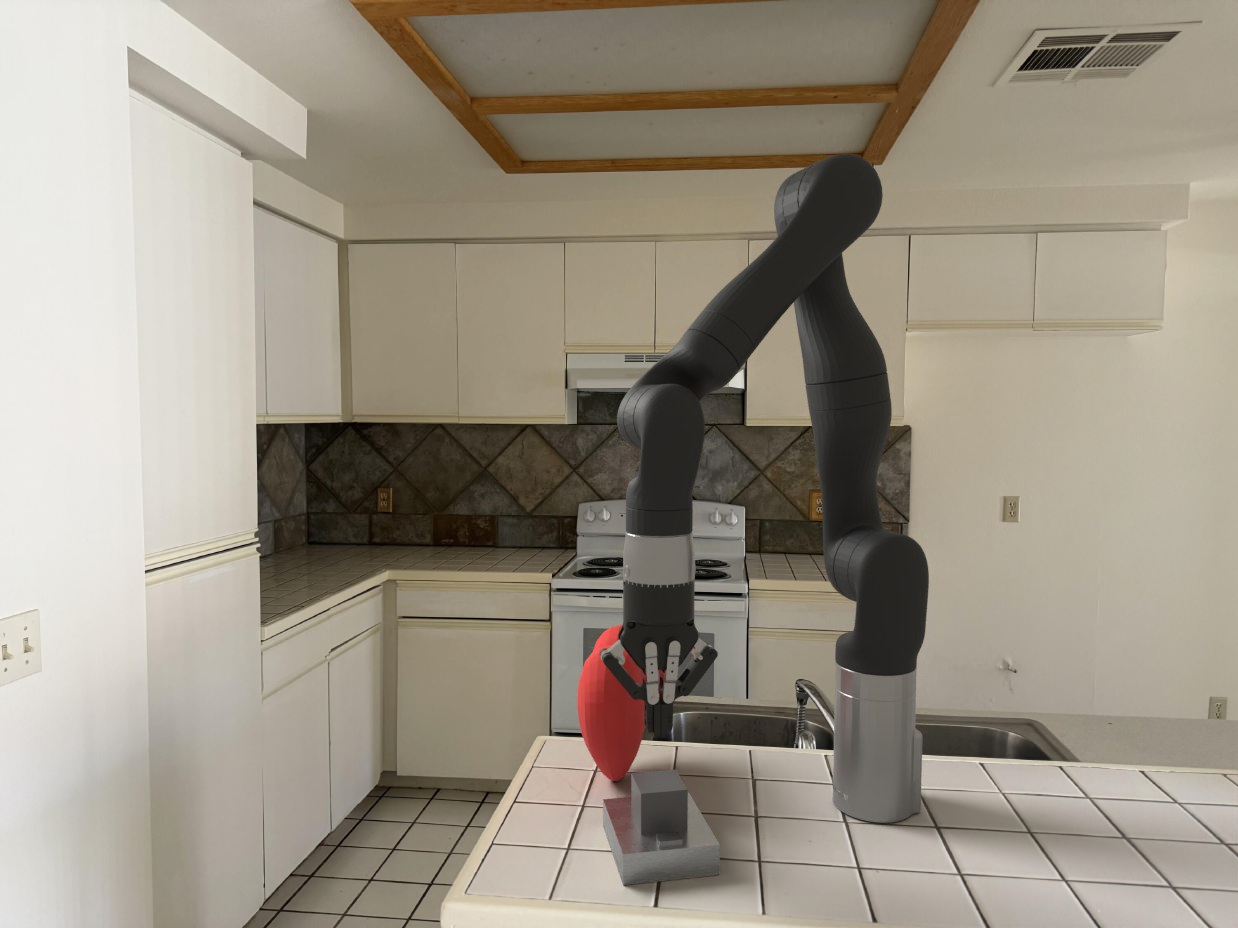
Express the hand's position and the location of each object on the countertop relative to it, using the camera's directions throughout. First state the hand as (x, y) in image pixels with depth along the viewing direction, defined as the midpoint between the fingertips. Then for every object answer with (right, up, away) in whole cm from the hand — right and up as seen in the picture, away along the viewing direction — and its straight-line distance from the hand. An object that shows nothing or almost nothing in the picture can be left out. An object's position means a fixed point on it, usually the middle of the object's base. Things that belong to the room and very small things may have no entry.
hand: (658, 734), depth 90 cm
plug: (0, -13, +1) cm, 13 cm away
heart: (-5, -12, +18) cm, 22 cm away
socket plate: (0, -13, +1) cm, 13 cm away
